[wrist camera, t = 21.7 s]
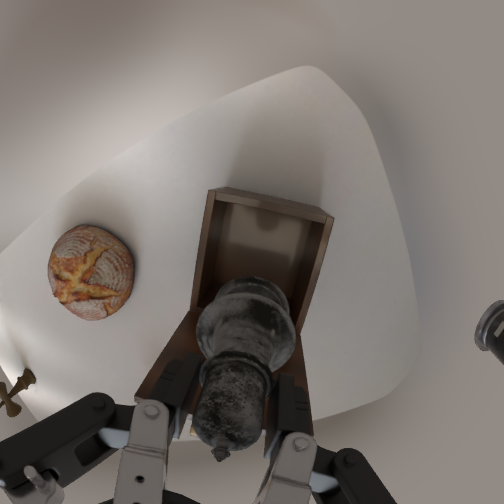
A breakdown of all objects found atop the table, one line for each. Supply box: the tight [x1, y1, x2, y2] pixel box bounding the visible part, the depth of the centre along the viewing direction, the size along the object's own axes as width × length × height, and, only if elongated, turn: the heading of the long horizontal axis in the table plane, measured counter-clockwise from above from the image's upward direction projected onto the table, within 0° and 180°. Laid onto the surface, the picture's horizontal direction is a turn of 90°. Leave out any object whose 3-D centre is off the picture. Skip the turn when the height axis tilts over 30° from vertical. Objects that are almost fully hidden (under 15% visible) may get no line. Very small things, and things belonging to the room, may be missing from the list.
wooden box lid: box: [134, 311, 314, 437], centre depth 25 cm, size 16×14×5 cm
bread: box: [48, 225, 134, 321], centre depth 40 cm, size 16×20×10 cm
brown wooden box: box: [190, 187, 334, 335], centre depth 36 cm, size 15×14×10 cm
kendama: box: [0, 369, 36, 417], centre depth 47 cm, size 6×10×20 cm, turn 12°
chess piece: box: [192, 276, 296, 462], centre depth 13 cm, size 6×6×12 cm
